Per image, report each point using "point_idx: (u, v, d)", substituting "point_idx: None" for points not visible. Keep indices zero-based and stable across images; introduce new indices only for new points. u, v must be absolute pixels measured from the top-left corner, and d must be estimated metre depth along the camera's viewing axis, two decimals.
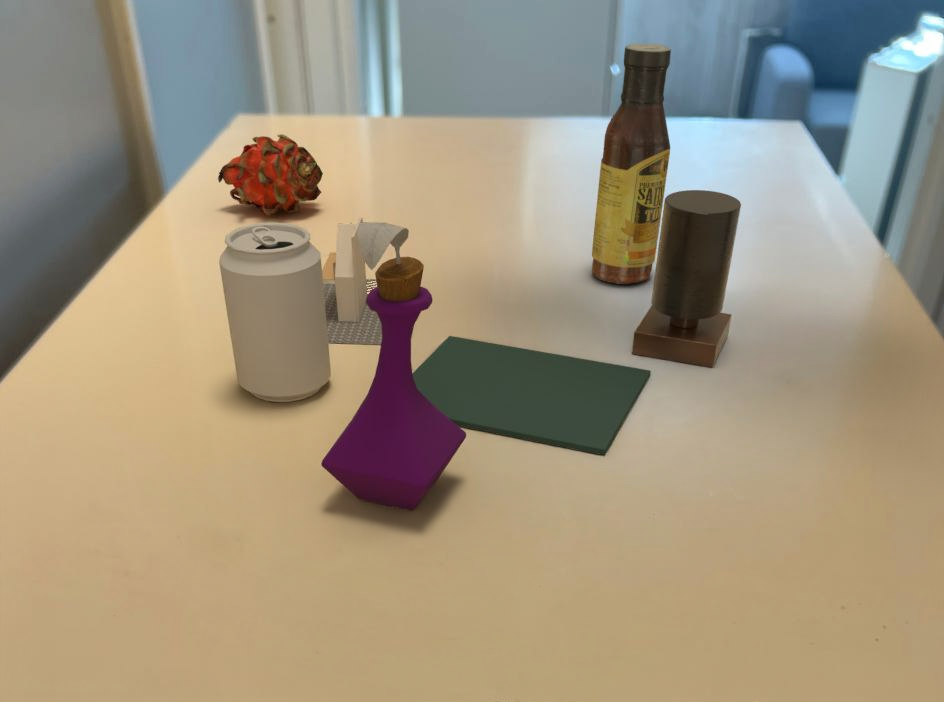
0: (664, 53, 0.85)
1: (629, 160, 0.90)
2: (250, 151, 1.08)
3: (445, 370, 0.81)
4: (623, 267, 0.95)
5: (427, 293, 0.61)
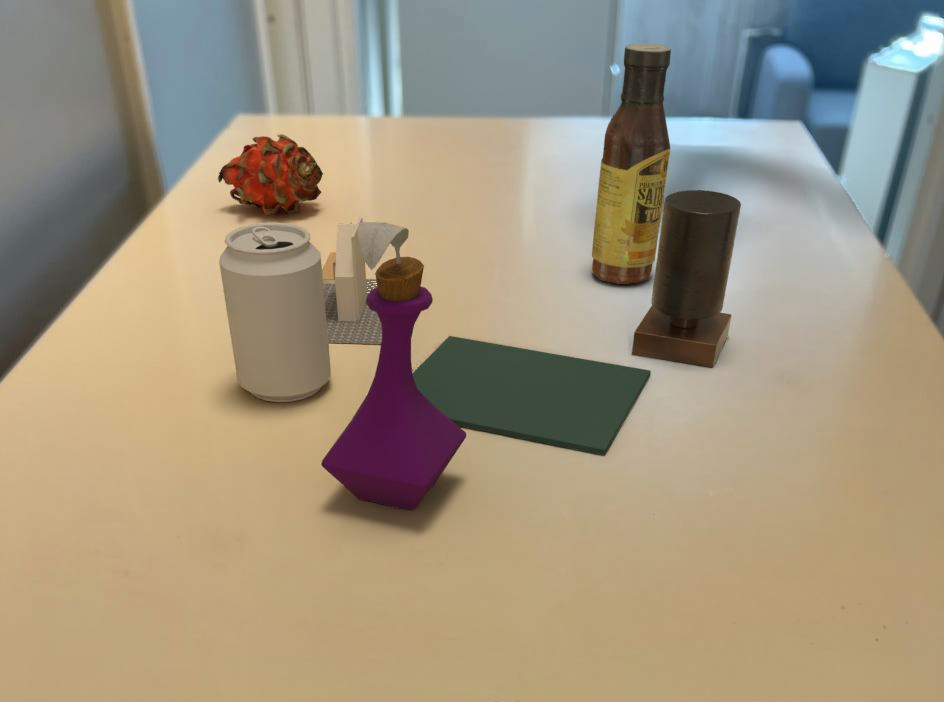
0: (664, 53, 0.85)
1: (629, 160, 0.90)
2: (250, 151, 1.08)
3: (445, 370, 0.81)
4: (623, 267, 0.95)
5: (427, 293, 0.61)
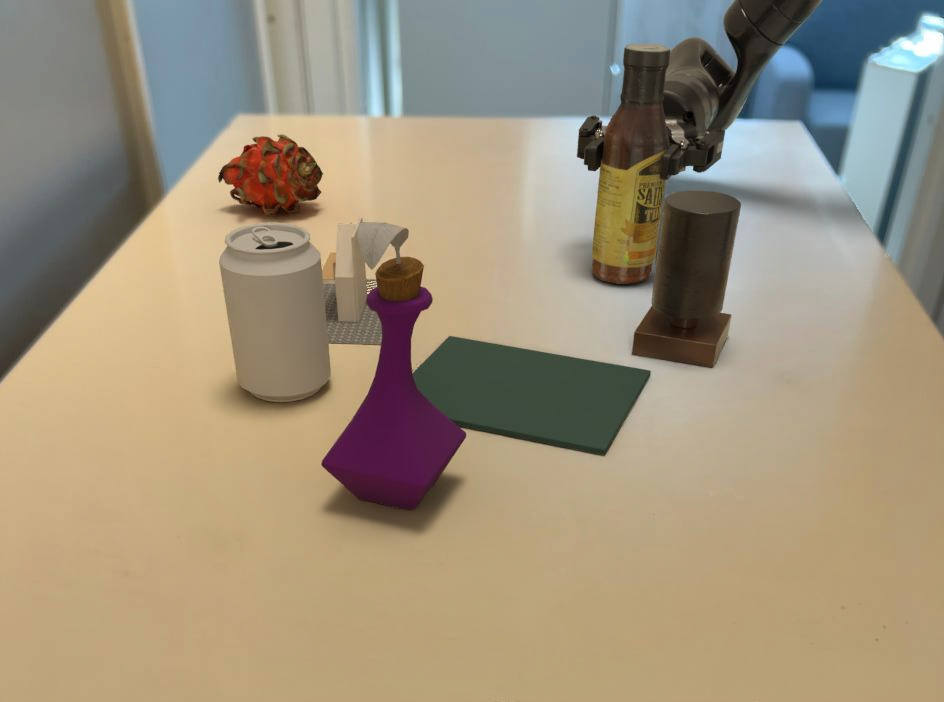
0: (664, 53, 0.85)
1: (629, 160, 0.90)
2: (250, 151, 1.08)
3: (445, 370, 0.81)
4: (623, 268, 0.95)
5: (427, 293, 0.61)
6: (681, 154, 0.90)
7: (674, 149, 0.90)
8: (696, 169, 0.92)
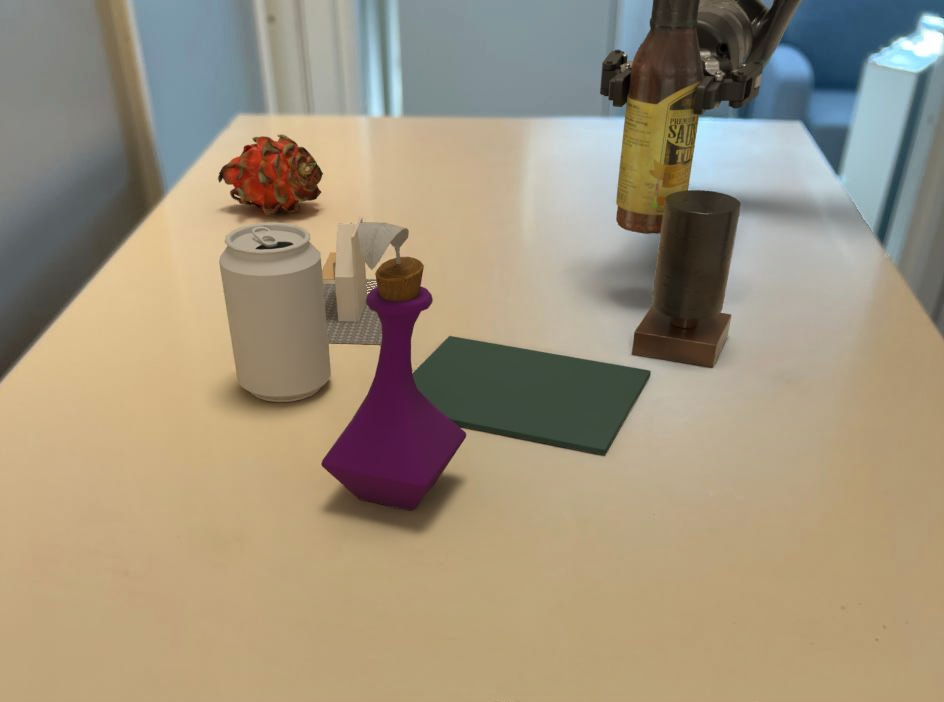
0: None
1: (659, 93, 0.81)
2: (250, 151, 1.08)
3: (445, 370, 0.81)
4: (651, 215, 0.87)
5: (427, 293, 0.61)
6: (717, 86, 0.81)
7: (709, 80, 0.81)
8: (732, 104, 0.84)
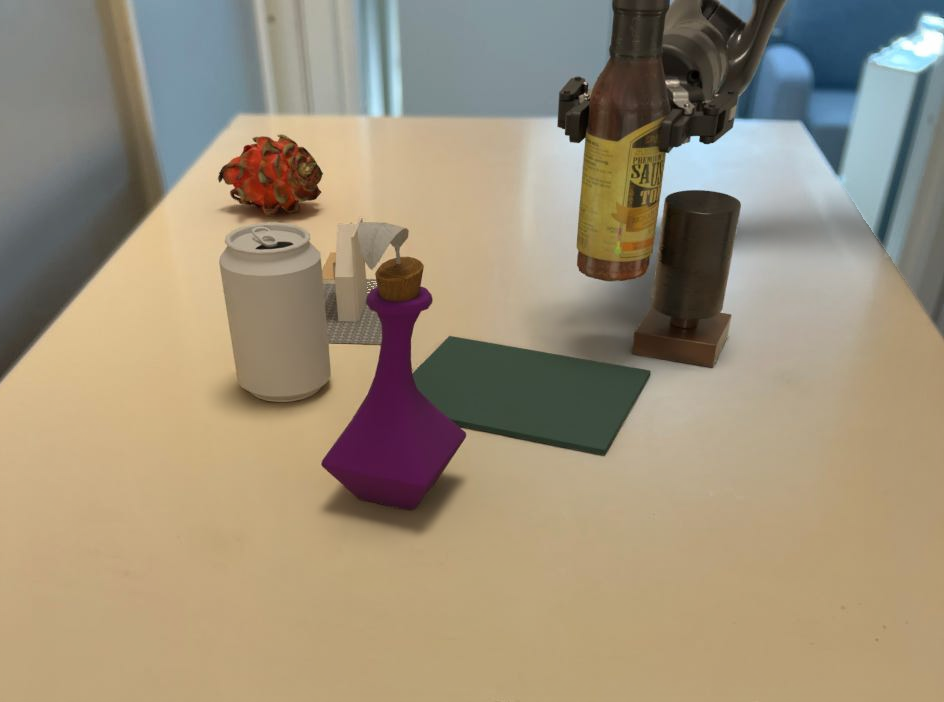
0: None
1: (621, 129, 0.72)
2: (250, 151, 1.08)
3: (445, 370, 0.81)
4: (615, 262, 0.78)
5: (427, 293, 0.61)
6: (685, 121, 0.73)
7: (676, 114, 0.72)
8: (703, 140, 0.75)
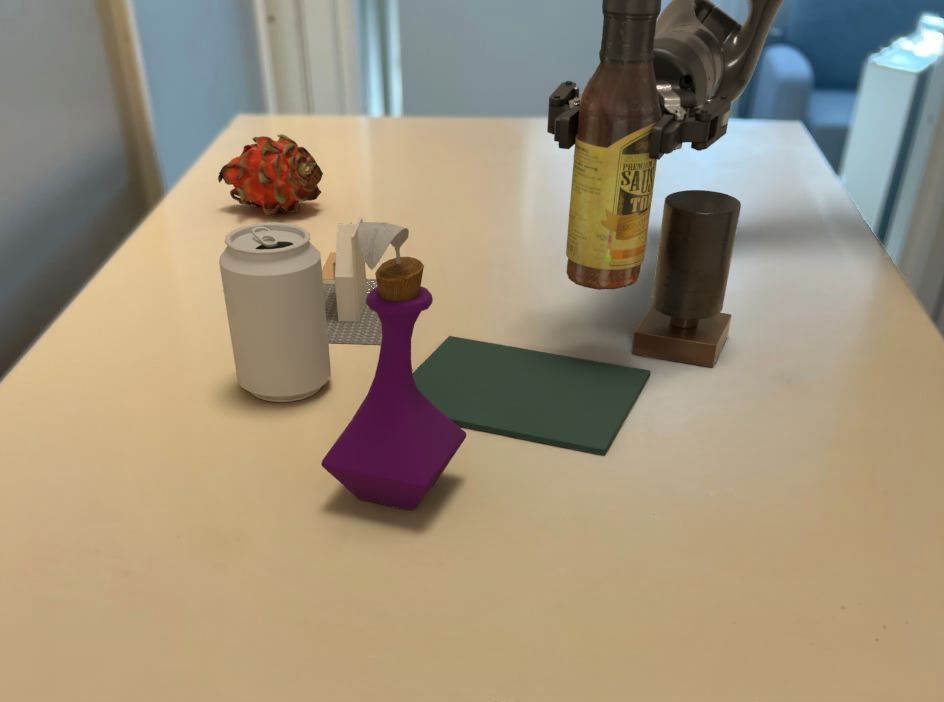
0: None
1: (610, 135, 0.71)
2: (250, 151, 1.08)
3: (445, 370, 0.81)
4: (604, 270, 0.77)
5: (427, 293, 0.61)
6: (676, 127, 0.71)
7: (667, 120, 0.71)
8: (695, 146, 0.74)
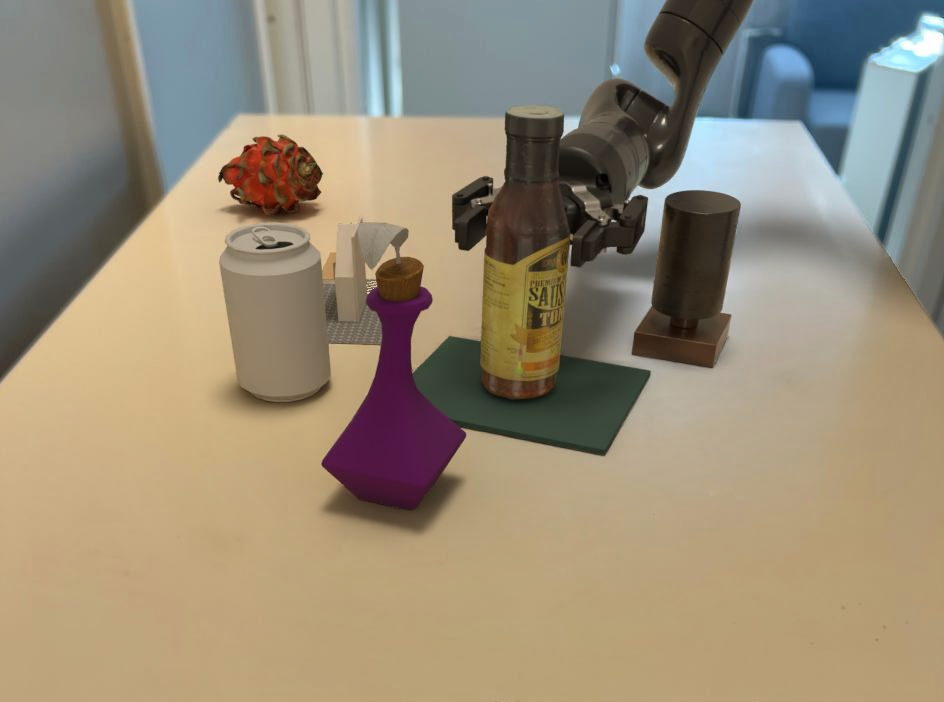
0: (554, 120, 0.66)
1: (516, 253, 0.70)
2: (250, 151, 1.08)
3: (445, 370, 0.81)
4: (517, 381, 0.76)
5: (427, 293, 0.61)
6: (598, 234, 0.70)
7: (589, 228, 0.69)
8: (621, 251, 0.72)
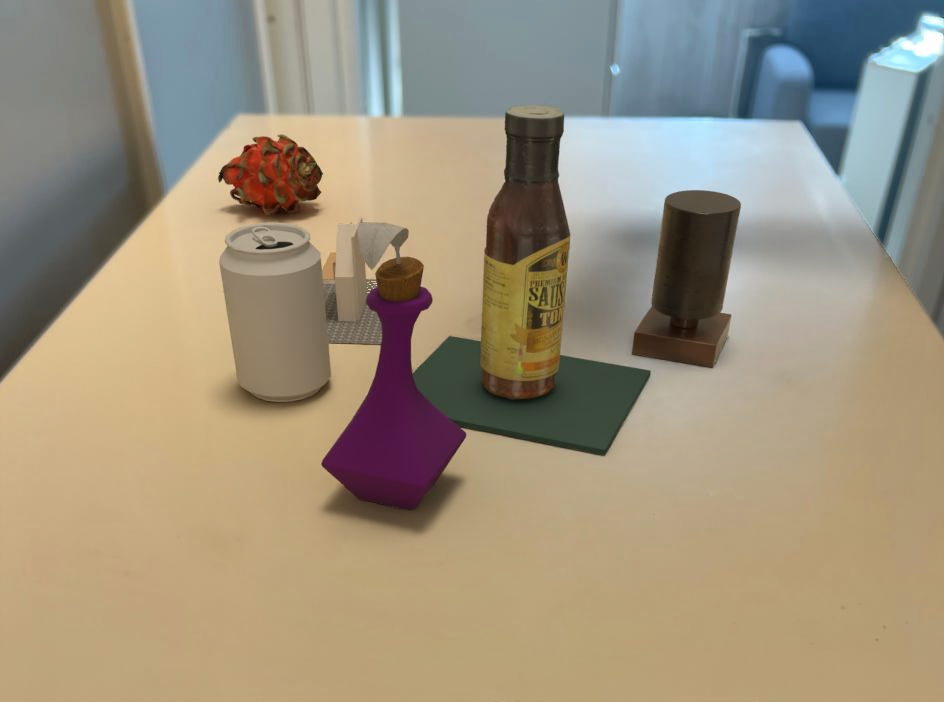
0: (554, 120, 0.66)
1: (516, 253, 0.70)
2: (250, 151, 1.08)
3: (445, 370, 0.81)
4: (517, 381, 0.76)
5: (427, 293, 0.61)
6: None
7: None
8: None
